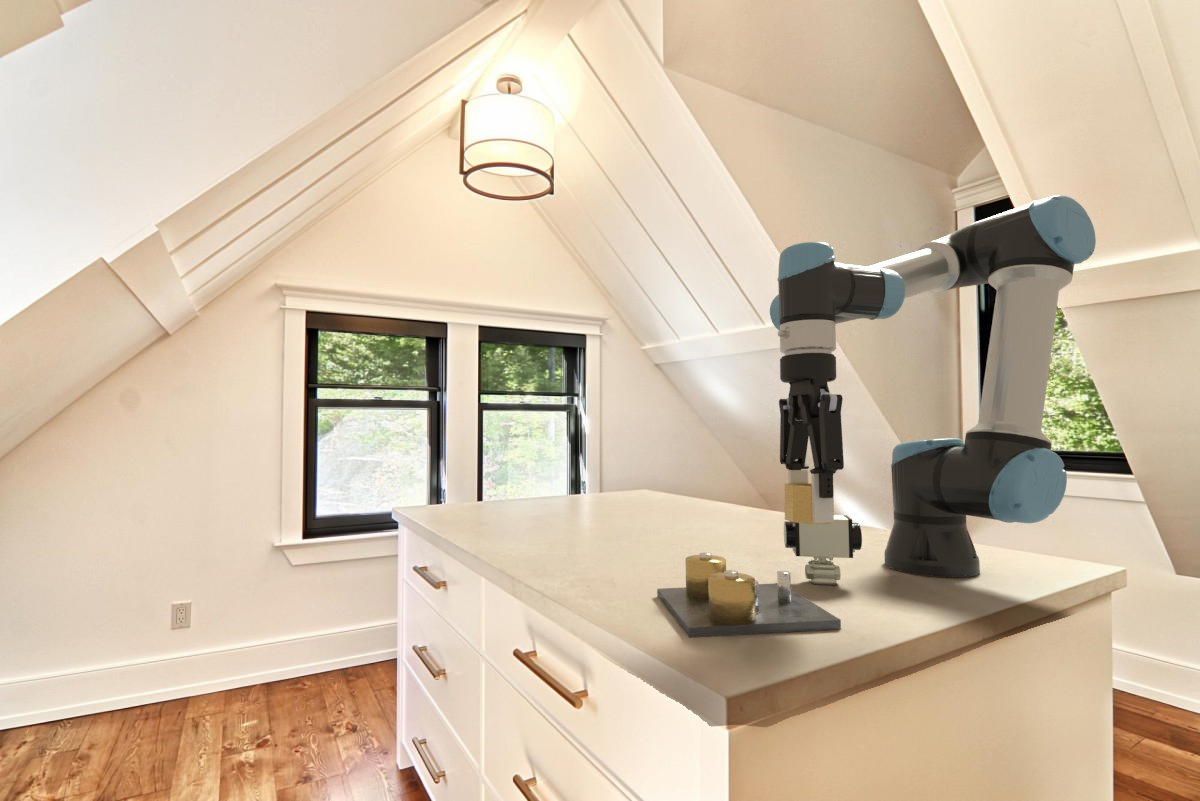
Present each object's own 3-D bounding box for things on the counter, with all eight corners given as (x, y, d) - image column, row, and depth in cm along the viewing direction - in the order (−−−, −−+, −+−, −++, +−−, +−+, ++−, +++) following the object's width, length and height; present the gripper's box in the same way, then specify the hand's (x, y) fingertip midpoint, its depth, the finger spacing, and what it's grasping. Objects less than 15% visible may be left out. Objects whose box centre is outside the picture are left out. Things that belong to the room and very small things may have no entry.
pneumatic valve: (863, 588, 95) (861, 512, 96) (787, 584, 98) (785, 511, 98) (856, 579, 101) (854, 508, 101) (784, 576, 103) (782, 506, 104)
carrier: (781, 590, 94) (780, 546, 95) (840, 629, 76) (839, 574, 77) (657, 596, 92) (656, 550, 92) (689, 637, 74) (688, 580, 74)
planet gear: (818, 517, 87) (817, 482, 87) (840, 523, 81) (840, 486, 81) (779, 517, 86) (779, 482, 86) (799, 524, 80) (799, 486, 80)
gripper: (755, 361, 93) (757, 509, 92) (817, 344, 75) (820, 530, 74) (799, 361, 94) (802, 508, 93) (872, 345, 76) (876, 529, 75)
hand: (810, 518), depth 83 cm, fingers closed on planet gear, 6 cm apart
